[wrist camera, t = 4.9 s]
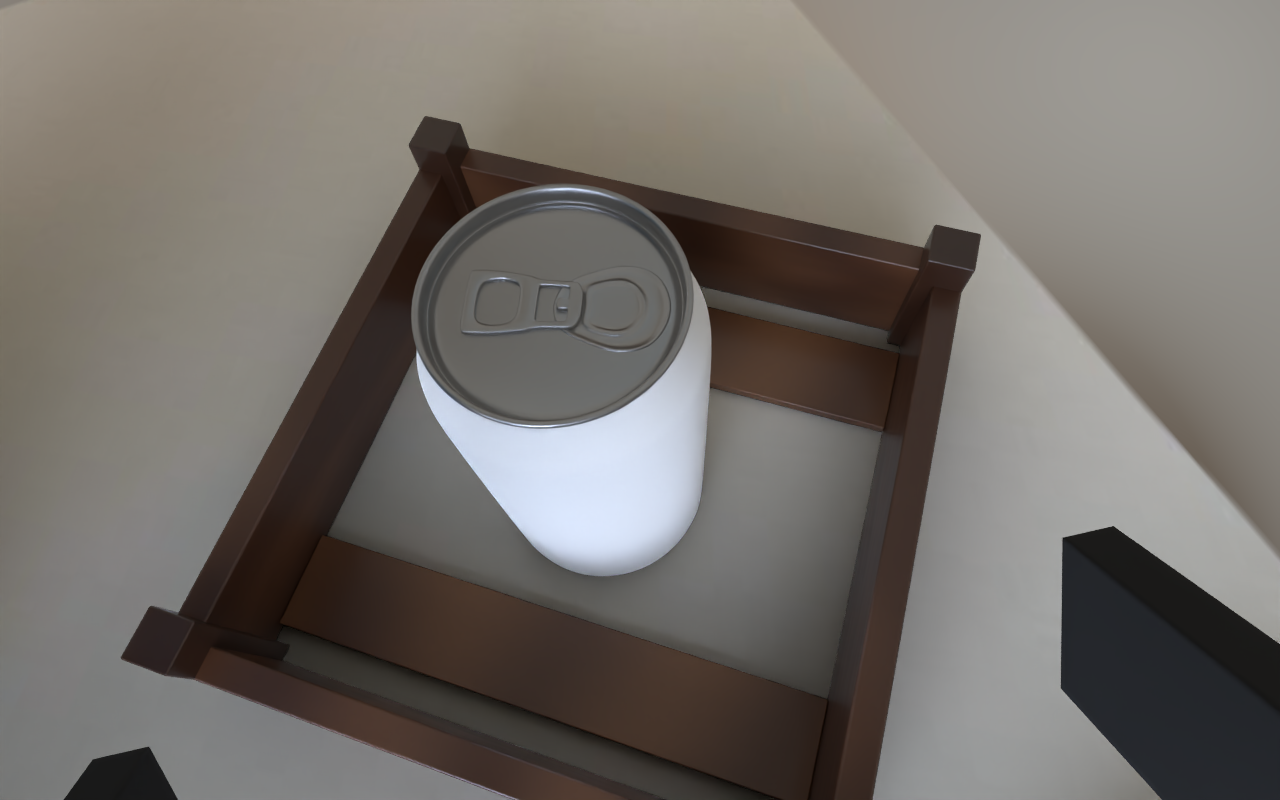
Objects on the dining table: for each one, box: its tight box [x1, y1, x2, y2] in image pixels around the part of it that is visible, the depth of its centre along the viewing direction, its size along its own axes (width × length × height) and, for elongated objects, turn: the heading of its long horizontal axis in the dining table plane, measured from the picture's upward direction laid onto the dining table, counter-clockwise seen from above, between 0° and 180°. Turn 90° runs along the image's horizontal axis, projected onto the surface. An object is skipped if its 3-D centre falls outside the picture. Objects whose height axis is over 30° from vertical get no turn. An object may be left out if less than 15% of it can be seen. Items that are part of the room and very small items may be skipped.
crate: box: [121, 116, 981, 800], centre depth 24 cm, size 19×19×5 cm
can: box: [411, 184, 711, 576], centre depth 20 cm, size 6×6×12 cm
